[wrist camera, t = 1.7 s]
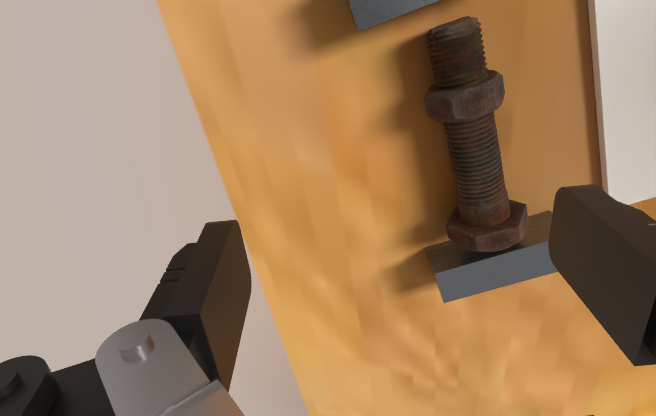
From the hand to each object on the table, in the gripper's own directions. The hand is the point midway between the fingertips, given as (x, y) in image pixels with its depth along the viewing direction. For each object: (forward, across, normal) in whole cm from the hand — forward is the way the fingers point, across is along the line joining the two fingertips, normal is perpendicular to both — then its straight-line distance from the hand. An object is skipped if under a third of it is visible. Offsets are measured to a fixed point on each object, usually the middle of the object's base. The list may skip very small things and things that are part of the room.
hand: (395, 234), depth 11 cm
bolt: (+21, -8, +5) cm, 23 cm away
